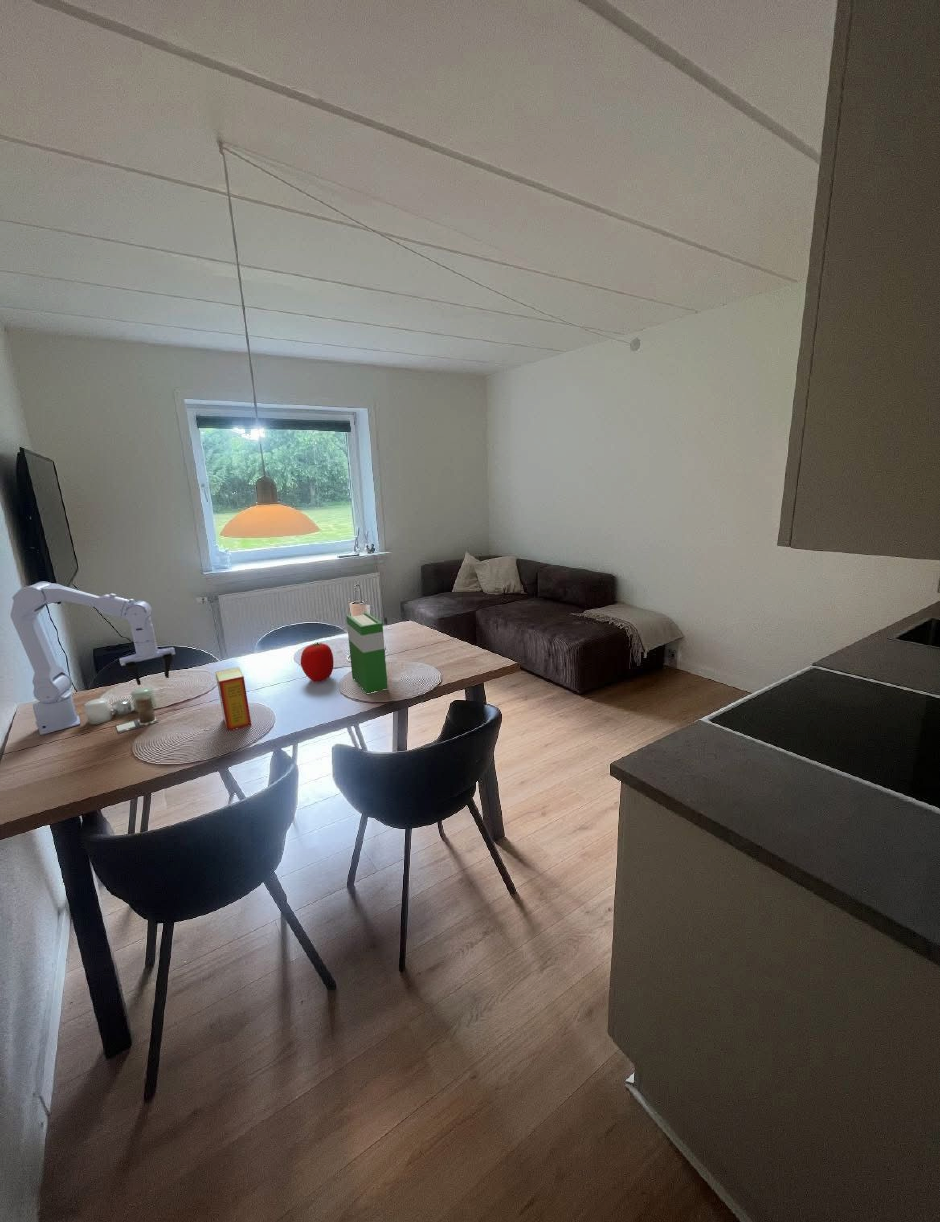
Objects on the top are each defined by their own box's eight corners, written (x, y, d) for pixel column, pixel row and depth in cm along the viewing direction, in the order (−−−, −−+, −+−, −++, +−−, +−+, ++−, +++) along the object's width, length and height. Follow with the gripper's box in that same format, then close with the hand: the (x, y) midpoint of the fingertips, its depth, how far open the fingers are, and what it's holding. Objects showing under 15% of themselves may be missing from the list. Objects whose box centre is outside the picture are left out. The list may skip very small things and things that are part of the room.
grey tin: (115, 717, 154) (112, 707, 153) (113, 712, 158) (111, 702, 157) (133, 712, 157) (131, 702, 156) (131, 708, 161) (128, 698, 160)
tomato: (329, 685, 173) (325, 648, 170) (298, 686, 173) (293, 648, 170) (339, 672, 185) (336, 637, 182) (310, 673, 186) (305, 637, 182)
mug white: (89, 726, 149) (85, 708, 147) (87, 718, 154) (83, 700, 153) (113, 719, 152) (109, 702, 151) (110, 712, 158) (106, 695, 156)
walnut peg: (141, 724, 148) (137, 703, 146) (138, 720, 151) (134, 699, 149) (156, 719, 151) (152, 699, 149) (153, 715, 153) (149, 695, 152)
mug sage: (136, 713, 156) (132, 696, 155) (132, 706, 162) (128, 689, 160) (157, 707, 160) (154, 690, 159) (153, 700, 166) (150, 684, 164)
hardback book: (352, 677, 180) (346, 615, 174) (371, 673, 183) (366, 612, 177) (367, 694, 165) (360, 626, 159) (387, 689, 168) (382, 623, 162)
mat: (118, 733, 143) (118, 732, 143) (115, 725, 148) (115, 724, 148) (158, 722, 150) (157, 721, 150) (153, 714, 155) (153, 714, 155)
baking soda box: (223, 719, 150) (215, 670, 146) (246, 713, 154) (238, 665, 150) (227, 731, 143) (218, 680, 139) (251, 725, 146) (243, 675, 142)
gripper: (118, 648, 144) (127, 690, 148) (173, 637, 153) (181, 677, 157) (115, 643, 149) (124, 684, 153) (169, 632, 159) (176, 671, 162)
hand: (153, 680), depth 155 cm, fingers open, 7 cm apart
